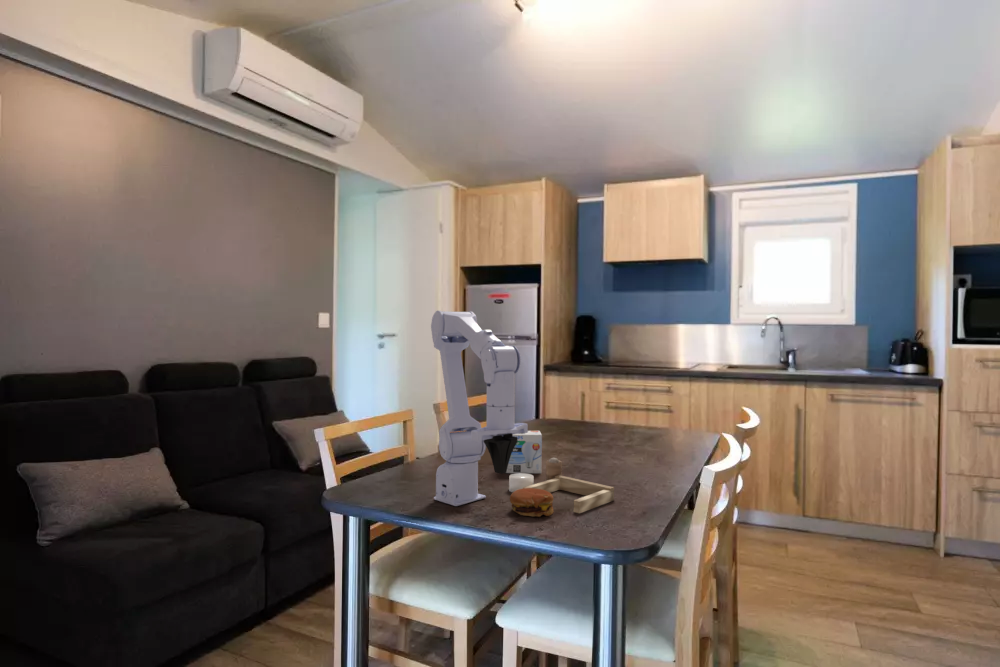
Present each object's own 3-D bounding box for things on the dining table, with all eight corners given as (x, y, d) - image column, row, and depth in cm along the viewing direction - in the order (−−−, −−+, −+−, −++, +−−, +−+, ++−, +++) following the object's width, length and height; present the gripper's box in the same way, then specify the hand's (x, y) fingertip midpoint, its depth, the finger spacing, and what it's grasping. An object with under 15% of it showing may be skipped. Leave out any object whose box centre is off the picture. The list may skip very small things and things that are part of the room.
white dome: (522, 495, 134) (522, 480, 134) (504, 490, 138) (504, 476, 138) (538, 490, 138) (538, 476, 138) (520, 485, 143) (520, 472, 143)
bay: (579, 513, 120) (579, 499, 120) (523, 498, 131) (523, 485, 131) (614, 500, 130) (614, 487, 130) (558, 487, 141) (559, 475, 141)
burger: (520, 503, 128) (520, 482, 128) (559, 508, 125) (559, 487, 124) (503, 516, 119) (503, 493, 119) (545, 522, 115) (545, 499, 115)
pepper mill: (555, 488, 140) (555, 460, 140) (542, 485, 143) (542, 457, 143) (565, 485, 143) (565, 457, 143) (552, 482, 146) (552, 455, 146)
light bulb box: (503, 473, 155) (503, 434, 155) (502, 467, 161) (503, 430, 161) (542, 473, 155) (542, 434, 155) (540, 467, 162) (540, 430, 162)
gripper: (489, 410, 106) (489, 482, 106) (538, 403, 117) (538, 469, 117) (463, 407, 111) (463, 476, 111) (513, 401, 122) (513, 464, 122)
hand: (500, 472), depth 114 cm, fingers closed
